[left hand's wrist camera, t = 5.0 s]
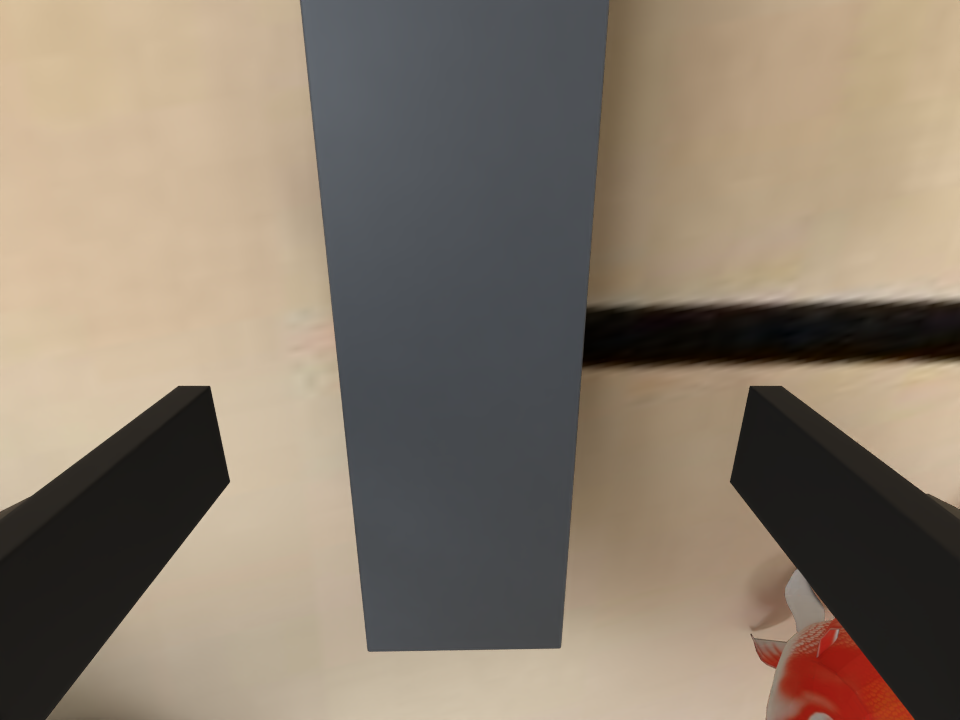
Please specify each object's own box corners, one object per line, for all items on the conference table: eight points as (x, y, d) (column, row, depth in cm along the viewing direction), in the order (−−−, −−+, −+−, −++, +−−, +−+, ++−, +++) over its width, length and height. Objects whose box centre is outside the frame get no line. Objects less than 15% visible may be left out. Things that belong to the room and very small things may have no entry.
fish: (806, 516, 17) (1208, 937, 10) (1016, 436, 24) (1339, 659, 17) (663, 649, 24) (853, 957, 17) (859, 557, 30) (1049, 751, 24)
